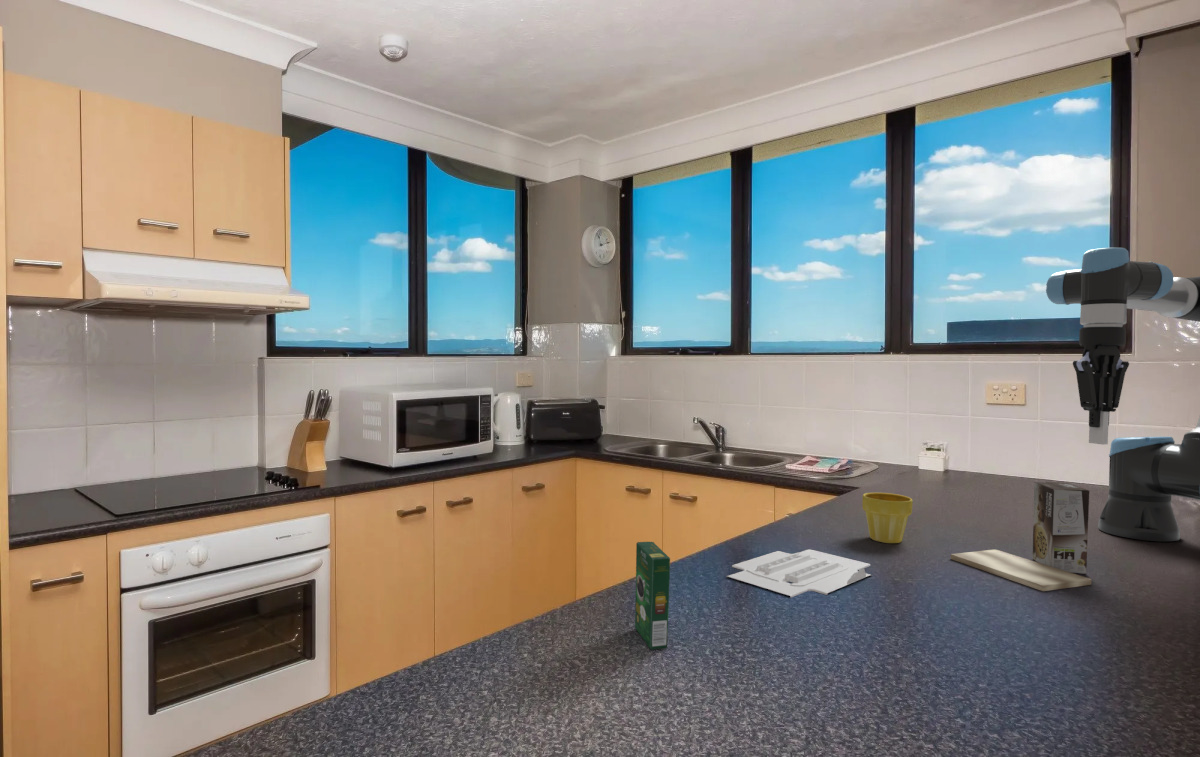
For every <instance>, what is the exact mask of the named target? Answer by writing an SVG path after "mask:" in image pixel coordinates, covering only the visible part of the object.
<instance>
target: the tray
mask: <svg viewBox="0 0 1200 757" xmlns="http://www.w3.org/2000/svg"><path fill="white" fill-rule="evenodd" d="M868 567H871V564H870V563H866V562H865V561H864V562H863V561H859V560H855V559H851V558H847V557H843V556H839V555H834V554H831V553H826V552H824V551H823V552H822V551H819V550H815V549H814V550H813V549H805V550H802V551H800V552H795V553H788V552H784V551H780V550H777V551H773V552H770V553H767V554H763V555H761V556H758V557H754V558H750V559H748V560H744V561H741V562H739V563H735V564H732V565H731V568H735V569H736V570H737V569H738V570H741V571H739V572H736V573H732V574H730V575H729V574H728V575H726V578H731V579H734V580H737V581H741V582H744V583H748V584H751V585H754V586H757V587H760V588H763V589H768V590H769V591H773V592H776V593H779V594H783V595H786V596H790V597H789V598H793V597H795V596H798V595H801V594H804V593H806V592H816V593H819V594H822V595H826V596H828V594H829V593H832V592H834V591H836V590H838V589H841V588H843V587H846V586H848V585H850V584H853V583H856V582H857V581H860V580H862V579H865V578H866V577H869V576H870V577H872V576H873V575H872V574H871V573H870V574H869V573H867V572H866V571H865V570H866V569H867V568H868ZM858 570H859V571H858Z"/></svg>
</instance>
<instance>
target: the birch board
mask: <svg viewBox="0 0 1200 757" xmlns="http://www.w3.org/2000/svg"><path fill="white" fill-rule="evenodd" d="M950 560H953V561H955V562H958V563H961V564H963V565H967V566H969V567H972V568H975V569H979V570H980V571H984V572H987V573H990V574H992V575H996V576H998V577H1001V578H1004V579H1007V580H1010V581H1013V582H1014V583H1017V584H1018V583H1019V584H1020V585H1021V584H1022V585H1024V586H1027V587H1030V588H1032V589H1036V590H1038V591H1040V592H1046V591H1047V592H1048V591H1049V592H1050V591H1054V590H1062V589H1069V588H1077V587H1083V586H1090V585H1091V586H1092V582H1093V581H1092V578H1089V577H1086V576H1083V575H1079V574H1077V573H1070V572H1067V571H1064V570H1060V569H1057V568H1054V567H1051V566H1047V565H1044V564H1041V563H1038V562H1037V561H1035V560H1031V559H1028V558H1025V557H1022V556H1018V555H1015V554H1011V553H1008V552H1006V551H1002V550H999V549H987V550H985V549H984V550H978V551H977V550H976V551H968V552H966V551H965V552H957V553H950Z"/></svg>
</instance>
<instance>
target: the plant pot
mask: <svg viewBox="0 0 1200 757" xmlns="http://www.w3.org/2000/svg"><path fill="white" fill-rule="evenodd" d="M861 499H862V501H861V502H862V505H861V506H862V510H863V511H864V512H865V517H866V521H867V528H868V534H869V538H870V539H872V541H874V542H875V541H876V542H880V543H883V544H884V543H885V544H900V543H902V541H903V538H904V534H905V531H906V528H907V527H906V526H907V523H908V520H909V516H911V515H912V513H913V502H914V500H913V499H912V498H911V497H910V496H906V495H902V494H897V493H889V492H865V493H863V494H862V498H861Z"/></svg>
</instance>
